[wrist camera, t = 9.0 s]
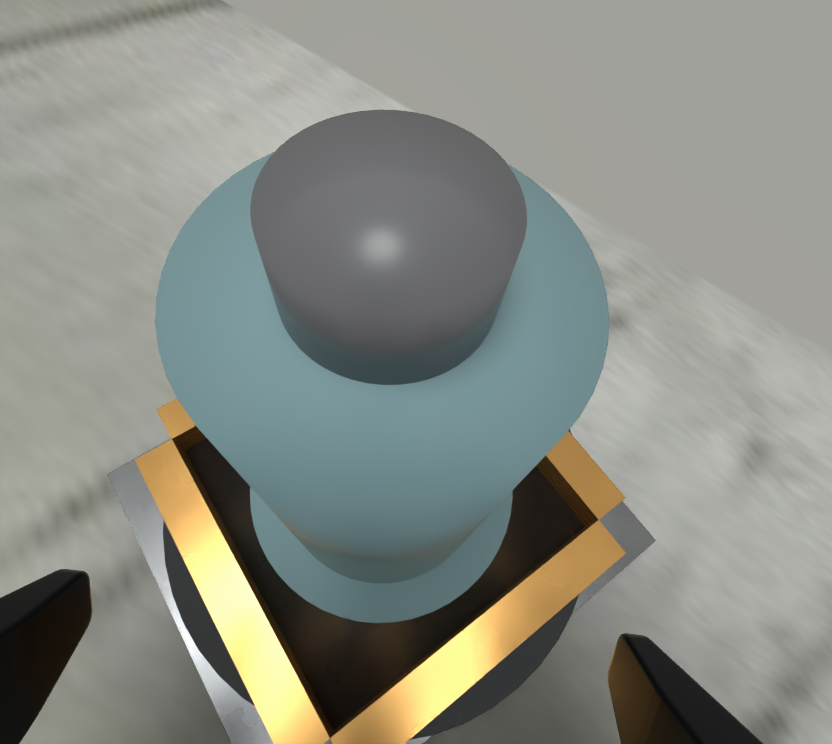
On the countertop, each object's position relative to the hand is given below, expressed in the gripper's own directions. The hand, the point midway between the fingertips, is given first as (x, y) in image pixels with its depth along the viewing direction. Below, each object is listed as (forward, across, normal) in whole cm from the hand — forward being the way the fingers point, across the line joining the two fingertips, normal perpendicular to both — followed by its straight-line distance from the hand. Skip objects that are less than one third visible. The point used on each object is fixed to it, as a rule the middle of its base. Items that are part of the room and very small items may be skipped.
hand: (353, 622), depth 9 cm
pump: (+8, 0, +2) cm, 9 cm away
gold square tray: (+11, 0, +5) cm, 12 cm away
